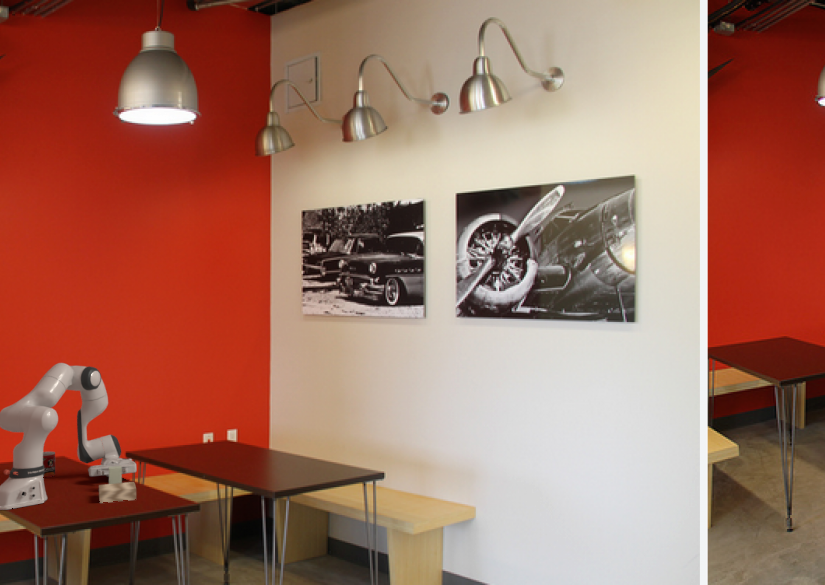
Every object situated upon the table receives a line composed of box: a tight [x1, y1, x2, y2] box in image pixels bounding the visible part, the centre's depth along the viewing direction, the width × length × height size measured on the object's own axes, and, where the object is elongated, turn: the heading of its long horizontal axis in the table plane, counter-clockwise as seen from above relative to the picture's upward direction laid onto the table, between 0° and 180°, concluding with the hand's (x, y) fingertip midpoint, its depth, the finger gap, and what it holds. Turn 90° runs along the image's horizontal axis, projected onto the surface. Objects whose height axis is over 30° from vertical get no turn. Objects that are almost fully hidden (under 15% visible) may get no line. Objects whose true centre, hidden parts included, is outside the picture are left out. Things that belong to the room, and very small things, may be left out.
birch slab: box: [98, 481, 137, 504], centre depth 331 cm, size 14×14×5 cm
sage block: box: [108, 466, 123, 484], centre depth 345 cm, size 5×5×10 cm
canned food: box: [43, 451, 56, 478], centre depth 379 cm, size 8×8×11 cm
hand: (113, 472), depth 356 cm, fingers open, 8 cm apart
